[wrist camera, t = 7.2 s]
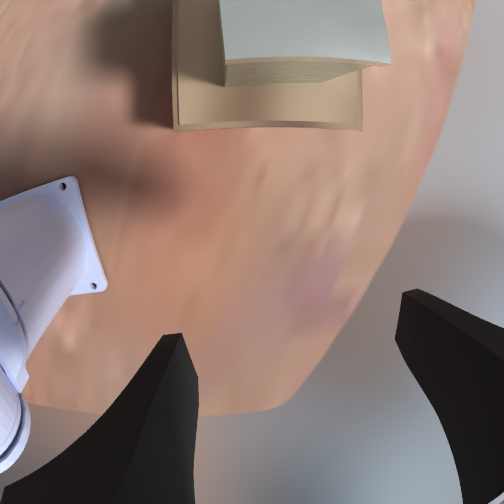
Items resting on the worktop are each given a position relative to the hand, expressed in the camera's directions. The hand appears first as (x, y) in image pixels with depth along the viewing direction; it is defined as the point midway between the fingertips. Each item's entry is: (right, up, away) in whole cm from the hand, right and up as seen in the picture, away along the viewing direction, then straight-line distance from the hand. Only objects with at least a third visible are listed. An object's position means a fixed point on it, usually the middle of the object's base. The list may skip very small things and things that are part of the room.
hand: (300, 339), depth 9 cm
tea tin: (-1, +12, +2) cm, 13 cm away
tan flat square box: (-1, +14, +6) cm, 15 cm away
